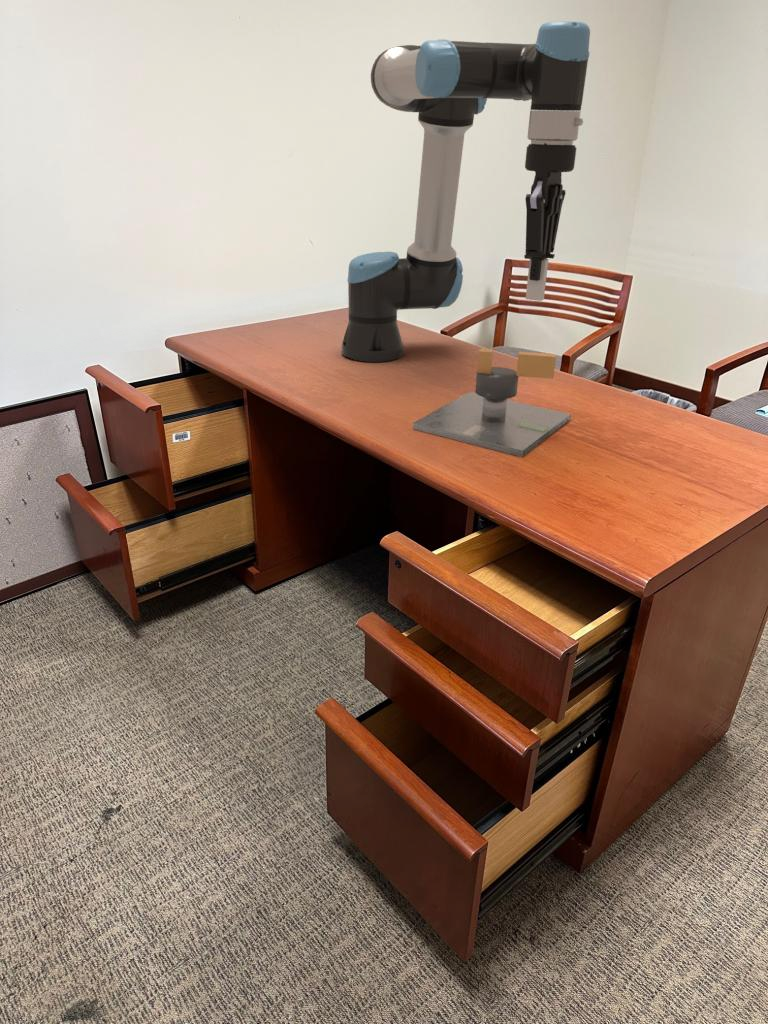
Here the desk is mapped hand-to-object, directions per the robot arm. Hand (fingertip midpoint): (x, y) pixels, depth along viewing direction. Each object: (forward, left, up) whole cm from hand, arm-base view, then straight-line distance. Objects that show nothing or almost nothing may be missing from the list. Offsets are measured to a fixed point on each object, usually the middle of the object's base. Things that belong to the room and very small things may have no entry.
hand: (534, 299), depth 124 cm
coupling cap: (-2, -3, -18) cm, 18 cm away
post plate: (-1, -6, -24) cm, 25 cm away
